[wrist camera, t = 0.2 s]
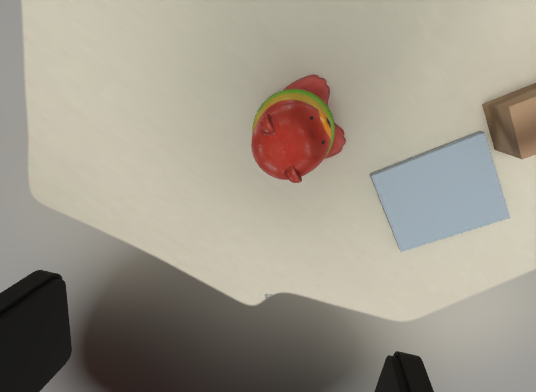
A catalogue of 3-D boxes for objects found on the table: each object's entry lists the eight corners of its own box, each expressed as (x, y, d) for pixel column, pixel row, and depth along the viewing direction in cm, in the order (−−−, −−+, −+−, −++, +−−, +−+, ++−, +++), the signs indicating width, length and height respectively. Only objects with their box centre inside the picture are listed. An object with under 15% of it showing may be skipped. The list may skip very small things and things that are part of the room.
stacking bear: (349, 149, 43) (366, 187, 26) (280, 173, 45) (255, 222, 29) (323, 69, 40) (323, 55, 24) (250, 100, 43) (205, 107, 26)
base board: (369, 174, 43) (371, 176, 42) (480, 131, 39) (484, 132, 38) (399, 247, 46) (401, 251, 45) (505, 214, 42) (509, 217, 41)
